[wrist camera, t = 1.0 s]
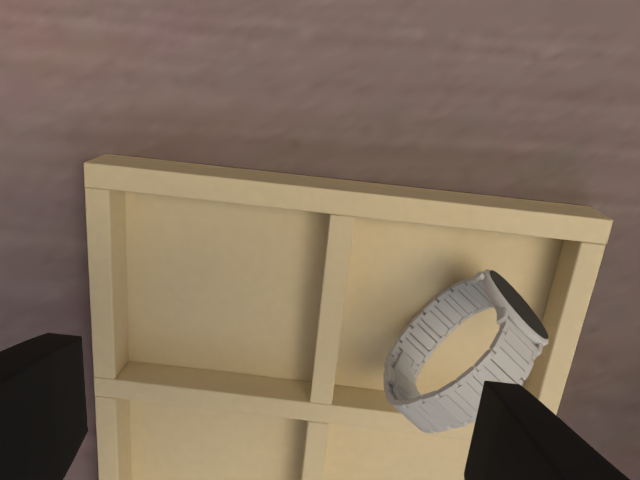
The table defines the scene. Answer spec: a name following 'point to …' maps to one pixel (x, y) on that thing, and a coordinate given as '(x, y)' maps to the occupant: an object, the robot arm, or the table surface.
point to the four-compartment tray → (303, 315)
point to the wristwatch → (494, 365)
